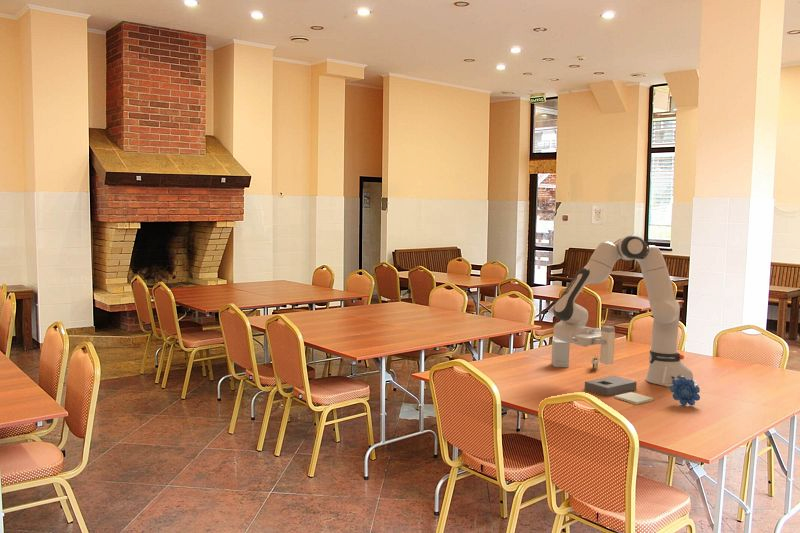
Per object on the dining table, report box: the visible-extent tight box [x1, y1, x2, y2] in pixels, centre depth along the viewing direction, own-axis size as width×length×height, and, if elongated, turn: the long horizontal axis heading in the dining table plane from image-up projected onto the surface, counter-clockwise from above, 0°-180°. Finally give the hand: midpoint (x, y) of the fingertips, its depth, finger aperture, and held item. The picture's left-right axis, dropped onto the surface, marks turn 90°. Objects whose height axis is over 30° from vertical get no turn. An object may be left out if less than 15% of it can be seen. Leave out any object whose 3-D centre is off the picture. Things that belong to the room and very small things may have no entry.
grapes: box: [669, 376, 701, 406], centre depth 276 cm, size 12×7×12 cm, turn 70°
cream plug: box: [599, 325, 616, 366], centre depth 294 cm, size 4×4×16 cm
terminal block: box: [584, 375, 638, 397], centre depth 299 cm, size 20×12×4 cm, turn 125°
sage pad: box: [614, 391, 654, 405], centre depth 284 cm, size 11×11×1 cm
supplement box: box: [550, 339, 571, 368], centre depth 341 cm, size 7×7×13 cm
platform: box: [590, 355, 600, 370], centre depth 335 cm, size 12×18×7 cm, turn 159°
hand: (609, 341), depth 294 cm, fingers closed on cream plug, 4 cm apart
